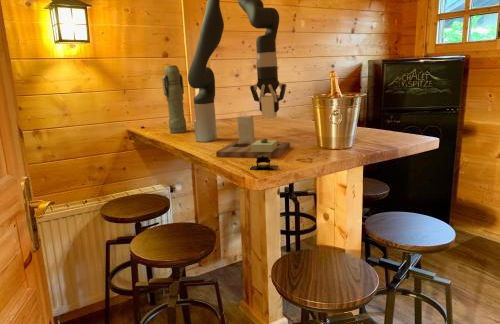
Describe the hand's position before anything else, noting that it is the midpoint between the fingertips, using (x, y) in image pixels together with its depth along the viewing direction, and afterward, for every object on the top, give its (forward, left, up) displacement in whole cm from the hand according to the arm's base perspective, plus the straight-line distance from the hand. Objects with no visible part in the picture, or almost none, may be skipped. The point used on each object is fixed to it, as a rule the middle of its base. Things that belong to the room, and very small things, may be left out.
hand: (269, 112), depth 147 cm
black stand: (+4, -24, -16) cm, 29 cm away
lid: (0, -8, -13) cm, 15 cm away
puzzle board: (-6, -3, -15) cm, 17 cm away
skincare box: (-15, +14, -16) cm, 26 cm away
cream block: (0, 0, -2) cm, 2 cm away
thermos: (-64, +42, -16) cm, 78 cm away
